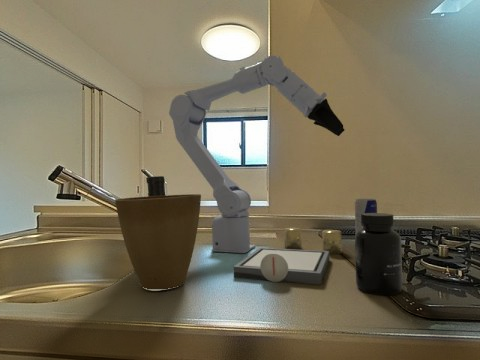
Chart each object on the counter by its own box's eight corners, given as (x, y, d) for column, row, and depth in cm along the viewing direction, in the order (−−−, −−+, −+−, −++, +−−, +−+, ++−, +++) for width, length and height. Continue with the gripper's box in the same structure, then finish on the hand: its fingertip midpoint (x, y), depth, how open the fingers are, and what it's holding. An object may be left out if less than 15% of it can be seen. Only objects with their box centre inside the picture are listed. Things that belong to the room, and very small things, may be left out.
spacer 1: (283, 249, 78) (282, 230, 78) (286, 245, 82) (286, 227, 82) (300, 250, 76) (299, 230, 76) (303, 246, 80) (302, 227, 80)
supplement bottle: (401, 299, 44) (398, 217, 44) (352, 291, 48) (349, 216, 48) (404, 284, 50) (401, 212, 50) (360, 278, 54) (358, 211, 54)
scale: (232, 278, 56) (231, 251, 56) (259, 256, 72) (258, 235, 72) (320, 286, 51) (319, 256, 51) (329, 260, 66) (328, 237, 66)
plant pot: (213, 272, 61) (210, 192, 61) (188, 302, 46) (184, 197, 46) (144, 271, 63) (141, 194, 63) (99, 299, 49) (95, 199, 49)
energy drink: (380, 247, 76) (378, 199, 76) (358, 247, 77) (356, 200, 77) (375, 243, 81) (374, 198, 81) (354, 243, 82) (352, 198, 82)
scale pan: (243, 268, 58) (243, 265, 58) (263, 252, 70) (263, 249, 70) (313, 274, 53) (313, 270, 53) (321, 255, 65) (321, 252, 65)
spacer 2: (322, 253, 72) (321, 232, 72) (324, 249, 76) (323, 229, 76) (341, 254, 71) (340, 233, 71) (342, 250, 75) (341, 230, 75)
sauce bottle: (180, 259, 72) (177, 175, 72) (163, 266, 66) (159, 175, 66) (158, 257, 75) (155, 176, 75) (140, 264, 69) (136, 176, 69)
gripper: (306, 72, 66) (353, 113, 63) (314, 88, 79) (354, 122, 76) (284, 97, 68) (328, 138, 65) (296, 108, 81) (333, 143, 78)
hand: (341, 131), depth 71 cm, fingers open, 7 cm apart
